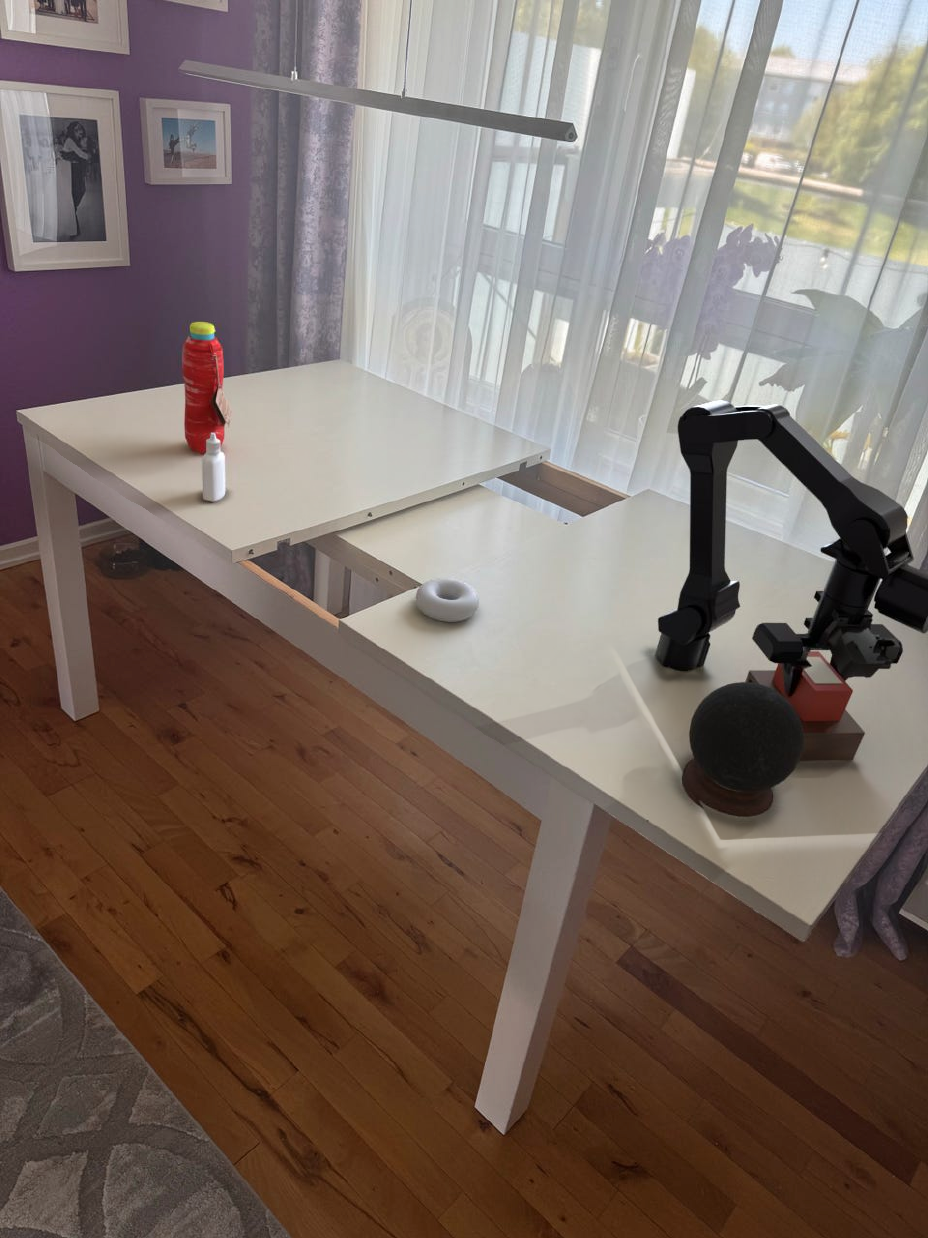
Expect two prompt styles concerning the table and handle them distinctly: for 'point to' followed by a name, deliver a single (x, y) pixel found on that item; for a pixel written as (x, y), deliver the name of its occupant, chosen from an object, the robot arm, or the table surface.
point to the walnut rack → (820, 730)
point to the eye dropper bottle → (213, 470)
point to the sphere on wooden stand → (741, 748)
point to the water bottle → (204, 387)
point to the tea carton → (817, 691)
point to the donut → (458, 602)
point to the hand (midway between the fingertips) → (807, 694)
